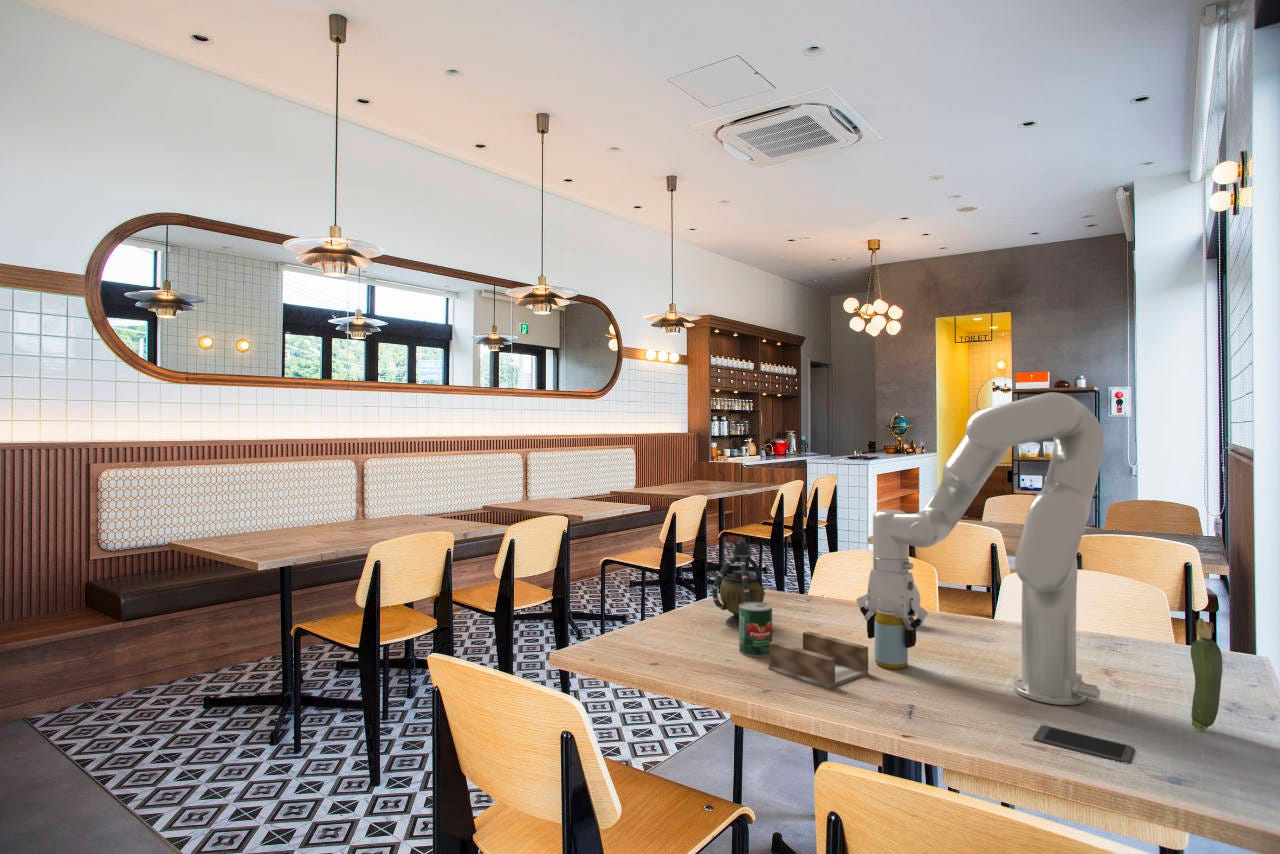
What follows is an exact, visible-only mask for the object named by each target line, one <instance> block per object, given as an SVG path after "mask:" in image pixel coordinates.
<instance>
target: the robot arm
mask: <svg viewBox="0 0 1280 854" xmlns="http://www.w3.org/2000/svg"><path fill="white" fill-rule="evenodd" d="M965 426H966V427H965V435H964V436H963V437H962V438H961V441H960V442H959V443H958V445H957V446H956V448H955V449H954V451H953V452H952V454H951V455H950V456H949V457H948V459H947V461H946V462H945V464H944V465H943V469H942V478H941V481H940V484H939V485H938V488H937V490H935V493H934V494H933V496H932V497H931V499H930V500H929V501H928V503H927V504H926V506H925V507H924V508H923V510H922V511H919V512H915V513H906V512H905V511H904V510H899V509H879V510H876V511H874V513H873V516H872V548H873V549H872V568H871V570H870V572H869V576H868V577H869V578H868V584H867V593H866V594H864V595H862V596H860V597H858V598H856V603H857V605H858V607H859V610H860V612H861V614H862V615H863V617H864V618H863V619H864V620H865V621H866V633H867V638H868V639H875V615H876V613H877V609H878V608H877V598H878V599H881V600H886V601H893V609H894V611H893V612H894V613H895V615H894V616H895V617H896V618H898V619H902V620H903V622H904V624H905V625H906V627H907V629H906V630H905V647H906V648H908V649H910V648H913V647H915V646H916V643H917V629H919V627H920V626H921V625H922V624H924V622H925V620H926V618H927V617H928V615H929V612H928V611H927V610H926V609H925V608H923V606H921V604H920V605H918V604H917V601H916V590H915V585H916V584H915V579H914V575H913V572H910V570H913V569H914V564H913V563H912V562H910V559H909V546H912V547H916V548H930V547H933V546H934V545H936V544H938V543H940V542H942V541H943V540H945V539H946V538H947V537H948V536H949V535H950V534H951V533H952V531H953V530H954V529H955V527H956V526H957V524H958V522H959V521H960V520H961V518H962V517H963V516H964V514H965V513H966V511H967V510H968V508H969V507H970V506H971V504H972V502H973V501H974V499H975V497H977V496H978V494H979V492H980V490H981V489H982V487H983V486H984V485H985V483H986V482H987V480H988V478H989V477H990V476H991V474H992V473H993V471H994V470H995V469H996V468H997V466H998V465H999V463H1000V462H1001V460H1002V459H1003V458H1004V456H1005V455H1006V454H1007V452H1008V451H1009V449H1010V448H1011V447H1014V446H1015V447H1016V446H1020V445H1023V444H1024V445H1025V444H1028V443H1032V442H1037V441H1042V440H1046V439H1053V443H1054V444H1053V450H1052V454H1051V458H1050V461H1049V464H1048V468H1047V469H1048V470H1047V472H1046V476H1045V480H1044V482H1043V485H1042V488H1041V490H1040V491H1039V492H1038V493H1036V495H1035V496H1034V497H1033V499H1032V500H1031V503H1030V504H1029V508H1028V510H1027V514H1026V517H1025V521H1024V525H1023V529H1022V532H1021V536H1020V539H1019V543H1018V546H1017V550H1016V554H1015V558H1014V567H1015V568H1014V569H1015V572H1016V574H1017V577H1018V578H1019V580H1020V581H1021V583H1022V584H1021V585H1022V586H1021V678H1017V679H1015V680H1014V681H1013V683H1012V684H1013V686H1012V687H1013V690H1014V691H1015V692H1016V693H1017V694H1019V695H1020V696H1022V697H1024V698H1027V699H1030V700H1032V701H1036V702H1040V703H1045V704H1050V705H1057V706H1058V705H1059V706H1073V705H1074V706H1075V705H1080V704H1083V703H1084V702H1085V701H1086V699H1087V697H1088V698H1091V699H1096V700H1099V699H1100V697H1101V689H1100V688H1098V685H1095V684H1091V683H1086V682H1084V680H1082V678H1083V676H1082V674H1081V673H1077V594H1078V593H1077V591H1078V585H1077V584H1078V559H1077V555H1078V552H1079V551H1078V550H1079V547H1080V543H1081V541H1082V538H1083V534H1084V530H1085V529H1086V528H1085V527H1086V524H1087V522H1088V521H1089V518H1090V515H1091V507H1092V506H1091V505H1092V502H1093V501H1092V500H1093V497H1094V493H1095V491H1096V485H1097V481H1098V477H1099V473H1100V469H1101V465H1102V461H1103V456H1104V450H1105V439H1104V437H1105V436H1104V434H1103V430H1102V426H1101V423H1099V420H1098V418H1097V417H1096V416H1095V414H1094V413H1093V412H1092V411H1091V410H1090V409H1089V408H1088V407H1086V405H1084V404H1083V403H1082V402H1080V401H1079V400H1078V399H1076V398H1075V397H1073V396H1071V395H1068V394H1065V393H1060V392H1052V391H1050V392H1044V393H1041V394H1038V395H1037V394H1036V395H1033V396H1029V397H1025V398H1022V399H1018V400H1013V401H1011V402H1007V403H1003V404H999V405H995V406H989V407H985V408H981V409H979V410H978V411H975V412H974V413H973V414H971V416H970V417H969V419H968V420H967V423H966V425H965ZM866 602H867V603H866ZM915 616H916V618H915Z"/></svg>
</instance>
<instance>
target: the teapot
mask: <svg viewBox="0 0 1280 854" xmlns="http://www.w3.org/2000/svg"><path fill="white" fill-rule="evenodd" d="M730 542H731V543H733V544H734V548H733V550H732V552H731V553H732V557H730V558H729V559H728V560H727V561H726V562H725V564H724V565H723V566H722V568H721V569H720V570H719V572H718V573H717V576H716V577H715V580H714V583H713V585H712V589H711V592H712V593H711V595H712V599H713V603H714V605H715V606H716V607H717V608H719V609H721V610H722V611H726V610H727V611H728V612H729V613H730V614H733V615H731V616H729V617H728V619H726V620H725V621H724V622H725V625H726V626H727V627H730V628H734V629H739V605H740V604H742V603H745V602H762V603H764V599H765V596H766V592H765V588H764V584H763V577H762V572H761V571H760V570H761V569H760V567H759V565H758V564H757V563H756V561H755V560H753V559H752V558H751V557H752V551H751V548H750V546H749V544H748V543H747V542H746V541H745V539H743V538H741V539H740V540H738V541H737V542H736V541H735V540H731V541H730ZM735 563H740V570H736V571H734V573H729V568H730V567H731V566H732V565H733V564H735ZM746 563H750V564H751V565H752V567H753V569H754V571H755V574H751V573H750V572H749V571H748V570H747V564H746ZM721 580H722V581H721ZM719 585H720V586H719ZM718 589H719V595H720V600H721V601H720V600H719V595H718Z"/></svg>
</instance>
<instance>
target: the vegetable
mask: <svg viewBox="0 0 1280 854" xmlns="http://www.w3.org/2000/svg"><path fill="white" fill-rule="evenodd" d="M1197 634H1198V637H1199V638H1198V639H1196V640H1195V641H1193V642H1192V643H1191V647H1190V659H1191V663H1192V667H1193V673H1194V690H1193V696H1192V706H1191V725H1192V726H1193V727H1194V729H1195V730H1199V731H1202V732H1205V731H1206V730H1207V729H1208V728H1209V727H1210V726H1212V725H1213V724H1214V723H1215V721H1216V719H1217V715H1218V711H1219V707H1220V695H1221V688H1222V687H1221V686H1222V677H1223V655H1222V651H1221V648H1220V646H1219V645H1218V644H1217V643H1216V642H1215V641H1214V640H1212V637H1213V635H1212V631H1211V628H1210V627H1209V626H1208V624H1207V623H1206V621H1205V620H1204V618H1202V617H1201V618H1198V620H1197Z"/></svg>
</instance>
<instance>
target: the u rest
mask: <svg viewBox="0 0 1280 854" xmlns="http://www.w3.org/2000/svg"><path fill="white" fill-rule="evenodd" d="M768 669H769V670H772V671H775V672H777V673H780V674H784V675H787V676H789V677H792V678H796V679H798V680H802V681H804V682H808V683H811V684H813V685H817V686H820V687H822V688H826V689H832V688H835V687H837V686H841V685H842V684H846V683H848V682H850V681H853V680H856V679H858V678H860V677H864V676H866V675H868V674H869V646H866V645H864V644H863V645H862V644H858V643H854V642H851V641H847V640H844V639H840V638H836V637H831V636H829V635H825V634H820V633H817V632H813V631H809V630H807V631H804V632H802V647H801V648H800V647H797V646H794V645H790V644H787V643H783V642H780V641H777V640H772V642H769V656H768Z"/></svg>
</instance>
